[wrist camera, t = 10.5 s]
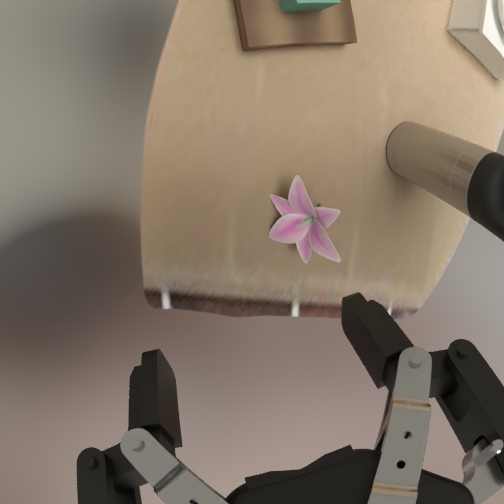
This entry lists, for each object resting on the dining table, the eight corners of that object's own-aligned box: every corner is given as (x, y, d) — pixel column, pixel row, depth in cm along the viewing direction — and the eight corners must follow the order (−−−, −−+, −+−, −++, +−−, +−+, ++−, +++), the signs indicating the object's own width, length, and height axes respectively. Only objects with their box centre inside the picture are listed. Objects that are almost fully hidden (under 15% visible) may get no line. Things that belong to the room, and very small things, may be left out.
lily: (291, 151, 41) (276, 180, 34) (364, 190, 41) (367, 227, 34) (260, 214, 49) (242, 251, 42) (325, 246, 49) (318, 288, 42)
